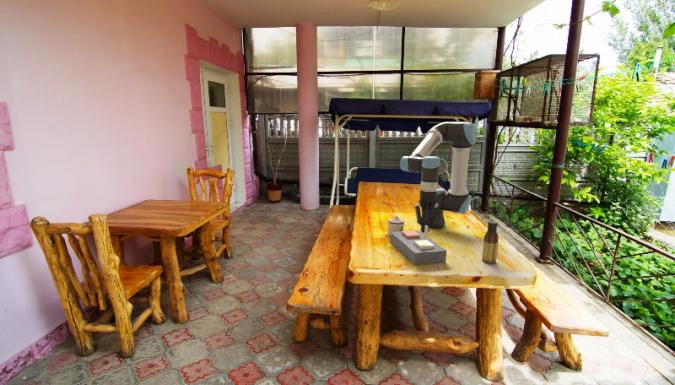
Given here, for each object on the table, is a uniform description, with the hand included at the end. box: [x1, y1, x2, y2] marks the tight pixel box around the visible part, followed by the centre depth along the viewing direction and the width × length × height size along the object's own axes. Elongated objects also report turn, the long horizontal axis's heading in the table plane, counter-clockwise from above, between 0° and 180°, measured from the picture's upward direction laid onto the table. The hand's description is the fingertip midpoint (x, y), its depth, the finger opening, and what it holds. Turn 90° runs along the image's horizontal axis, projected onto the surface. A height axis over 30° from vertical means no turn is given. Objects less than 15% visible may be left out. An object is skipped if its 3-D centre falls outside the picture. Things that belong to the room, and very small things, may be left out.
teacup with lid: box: [387, 215, 405, 238], centre depth 184 cm, size 12×9×12 cm
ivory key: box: [414, 240, 434, 250], centre depth 154 cm, size 7×7×4 cm
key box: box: [390, 229, 447, 266], centre depth 161 cm, size 16×28×6 cm, turn 14°
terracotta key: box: [402, 229, 420, 239], centre depth 167 cm, size 7×7×4 cm
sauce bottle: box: [481, 220, 499, 265], centre depth 150 cm, size 6×6×20 cm
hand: (424, 238), depth 153 cm, fingers closed
